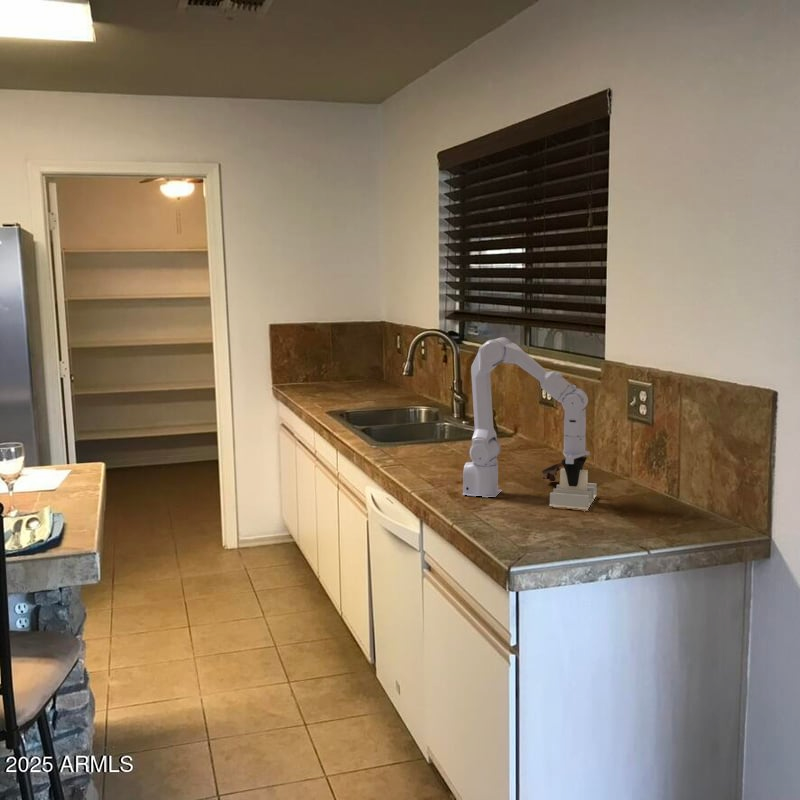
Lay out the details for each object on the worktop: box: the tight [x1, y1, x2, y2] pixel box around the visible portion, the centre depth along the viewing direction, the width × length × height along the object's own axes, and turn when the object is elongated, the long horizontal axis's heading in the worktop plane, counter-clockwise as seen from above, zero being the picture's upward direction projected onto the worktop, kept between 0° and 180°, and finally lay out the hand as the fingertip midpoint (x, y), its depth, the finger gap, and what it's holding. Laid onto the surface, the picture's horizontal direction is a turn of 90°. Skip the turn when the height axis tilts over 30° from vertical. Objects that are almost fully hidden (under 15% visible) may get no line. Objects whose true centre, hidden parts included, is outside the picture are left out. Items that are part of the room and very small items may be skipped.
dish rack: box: [549, 482, 598, 511], centre depth 233 cm, size 10×15×4 cm, turn 159°
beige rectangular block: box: [559, 468, 589, 491], centre depth 233 cm, size 7×2×8 cm, turn 69°
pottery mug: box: [541, 461, 565, 482], centre depth 253 cm, size 12×10×8 cm
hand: (573, 484), depth 233 cm, fingers closed on beige rectangular block, 2 cm apart
